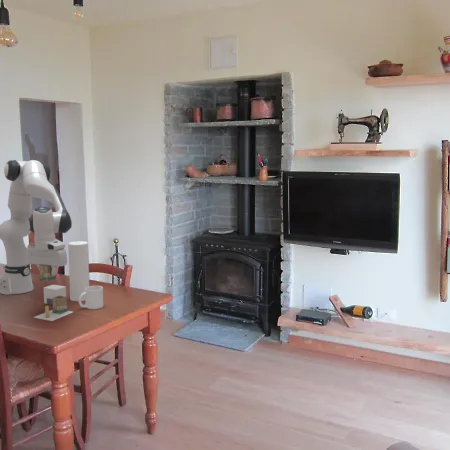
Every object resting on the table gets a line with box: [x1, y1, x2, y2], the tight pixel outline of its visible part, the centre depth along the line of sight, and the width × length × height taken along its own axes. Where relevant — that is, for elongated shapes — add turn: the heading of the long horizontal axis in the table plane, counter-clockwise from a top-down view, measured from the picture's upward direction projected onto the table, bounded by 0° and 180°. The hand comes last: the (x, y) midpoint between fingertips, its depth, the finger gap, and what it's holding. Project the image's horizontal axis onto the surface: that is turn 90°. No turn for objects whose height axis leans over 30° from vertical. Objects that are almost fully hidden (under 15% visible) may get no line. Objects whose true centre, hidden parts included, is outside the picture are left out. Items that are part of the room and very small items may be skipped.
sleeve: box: [39, 265, 57, 282], centre depth 231 cm, size 5×5×7 cm
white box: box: [43, 284, 67, 306], centre depth 252 cm, size 8×7×9 cm
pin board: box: [33, 305, 74, 322], centre depth 235 cm, size 11×14×6 cm
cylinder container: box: [67, 240, 90, 302], centre depth 258 cm, size 9×9×30 cm
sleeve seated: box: [51, 296, 69, 314], centre depth 239 cm, size 5×5×7 cm
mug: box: [78, 285, 104, 310], centre depth 246 cm, size 12×8×10 cm
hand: (47, 274), depth 231 cm, fingers closed on sleeve, 4 cm apart
